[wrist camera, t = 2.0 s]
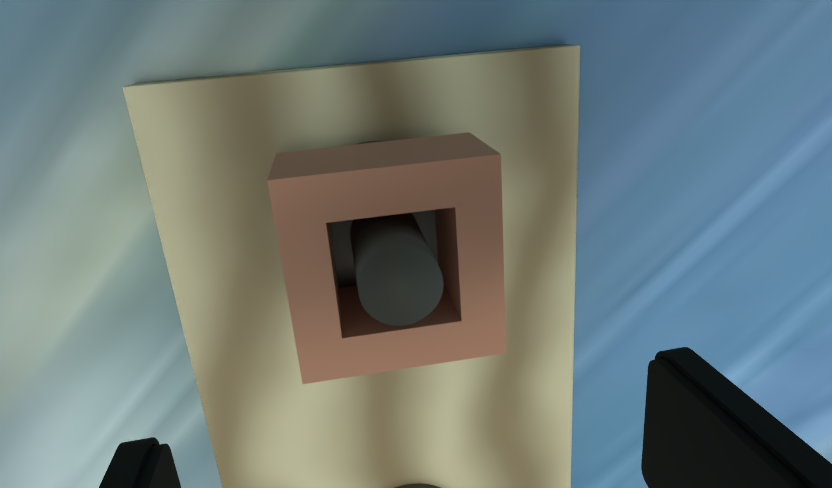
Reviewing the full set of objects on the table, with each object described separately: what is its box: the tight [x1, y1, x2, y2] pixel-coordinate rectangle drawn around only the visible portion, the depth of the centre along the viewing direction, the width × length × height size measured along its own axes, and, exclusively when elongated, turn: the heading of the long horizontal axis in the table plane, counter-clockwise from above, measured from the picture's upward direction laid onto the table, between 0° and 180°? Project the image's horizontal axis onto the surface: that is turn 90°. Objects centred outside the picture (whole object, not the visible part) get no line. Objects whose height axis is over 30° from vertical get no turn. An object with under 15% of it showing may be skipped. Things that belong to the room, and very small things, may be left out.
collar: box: [267, 132, 506, 384], centre depth 20 cm, size 7×7×4 cm
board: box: [123, 44, 580, 488], centre depth 25 cm, size 18×30×10 cm, turn 5°
